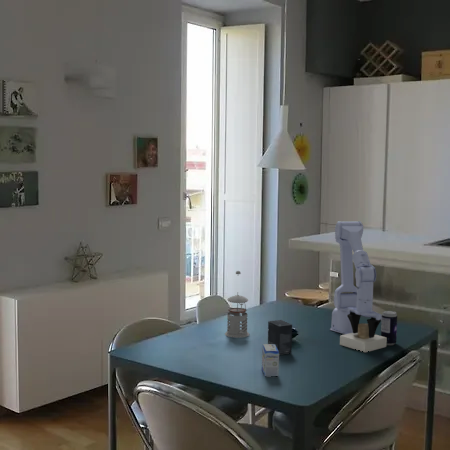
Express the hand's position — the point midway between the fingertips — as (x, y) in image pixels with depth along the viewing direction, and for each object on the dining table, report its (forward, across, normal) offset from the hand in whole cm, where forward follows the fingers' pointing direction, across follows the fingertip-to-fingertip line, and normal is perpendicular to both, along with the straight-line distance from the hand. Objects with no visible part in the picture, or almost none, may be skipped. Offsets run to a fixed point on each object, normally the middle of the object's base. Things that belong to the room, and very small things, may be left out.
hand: (363, 335), depth 259 cm
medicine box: (+4, +3, -49) cm, 49 cm away
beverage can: (+4, +4, +10) cm, 11 cm away
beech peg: (+4, 0, 0) cm, 4 cm away
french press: (+4, -40, -27) cm, 48 cm away
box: (+4, -13, -30) cm, 33 cm away
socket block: (+4, 0, 0) cm, 4 cm away
